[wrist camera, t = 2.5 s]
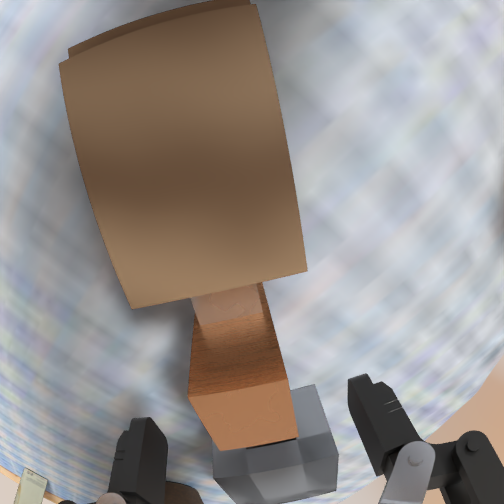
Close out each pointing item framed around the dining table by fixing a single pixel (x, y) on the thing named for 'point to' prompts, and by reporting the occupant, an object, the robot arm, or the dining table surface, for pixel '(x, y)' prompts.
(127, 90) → the brown rectangular block
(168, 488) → the plant pot
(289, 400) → the tan and grey bar
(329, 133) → the dining table surface
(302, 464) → the socket
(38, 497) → the skincare box
